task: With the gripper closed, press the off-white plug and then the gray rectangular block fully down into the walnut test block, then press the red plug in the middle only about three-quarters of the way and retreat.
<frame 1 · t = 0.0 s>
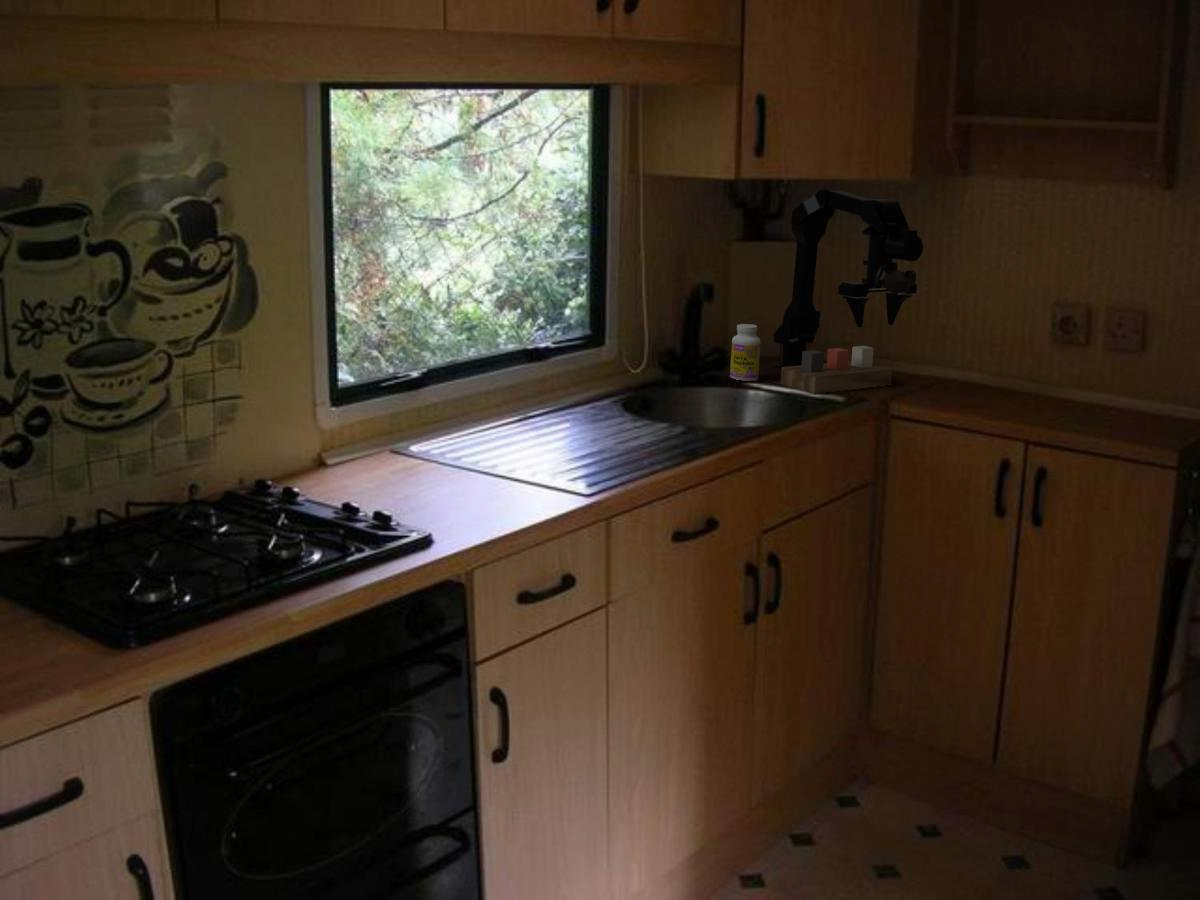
hand: (875, 325, 309), 15 cm above the worktop, tool pointing down, fingers open, 9 cm apart
supplement bottle: (744, 380, 320), on the worktop
gray rectangular block: (812, 362, 311), point 6 cm above the worktop, slide at 0.0 cm
plug white: (862, 357, 319), point 6 cm above the worktop, slide at 0.0 cm
test block: (835, 384, 316), on the worktop
plug red: (837, 360, 315), point 6 cm above the worktop, slide at 0.0 cm
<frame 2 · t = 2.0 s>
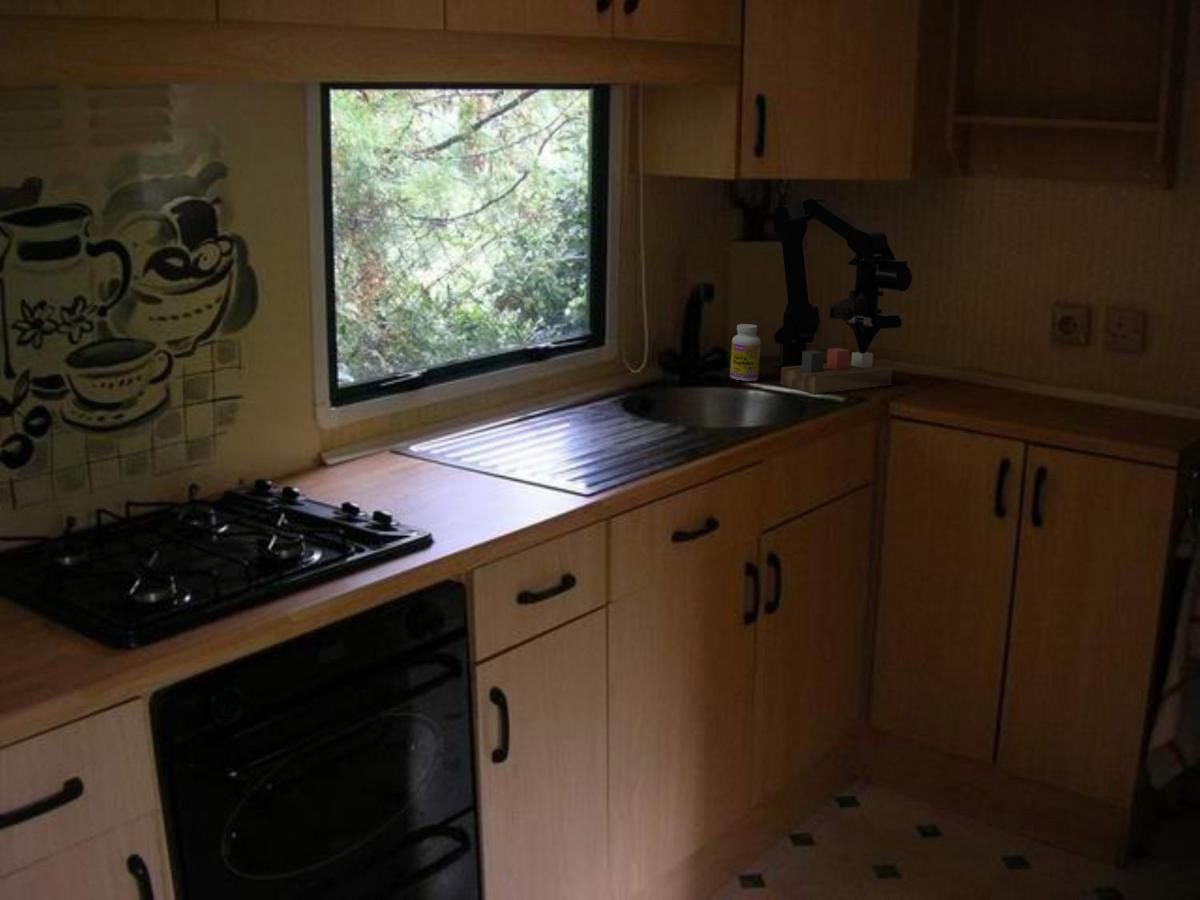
hand: (862, 353, 318), 7 cm above the worktop, tool pointing down, fingers closed, pressing on plug white
plug white: (861, 363, 319), point 4 cm above the worktop, slide at 1.4 cm, touching gripper
everything else where it was.
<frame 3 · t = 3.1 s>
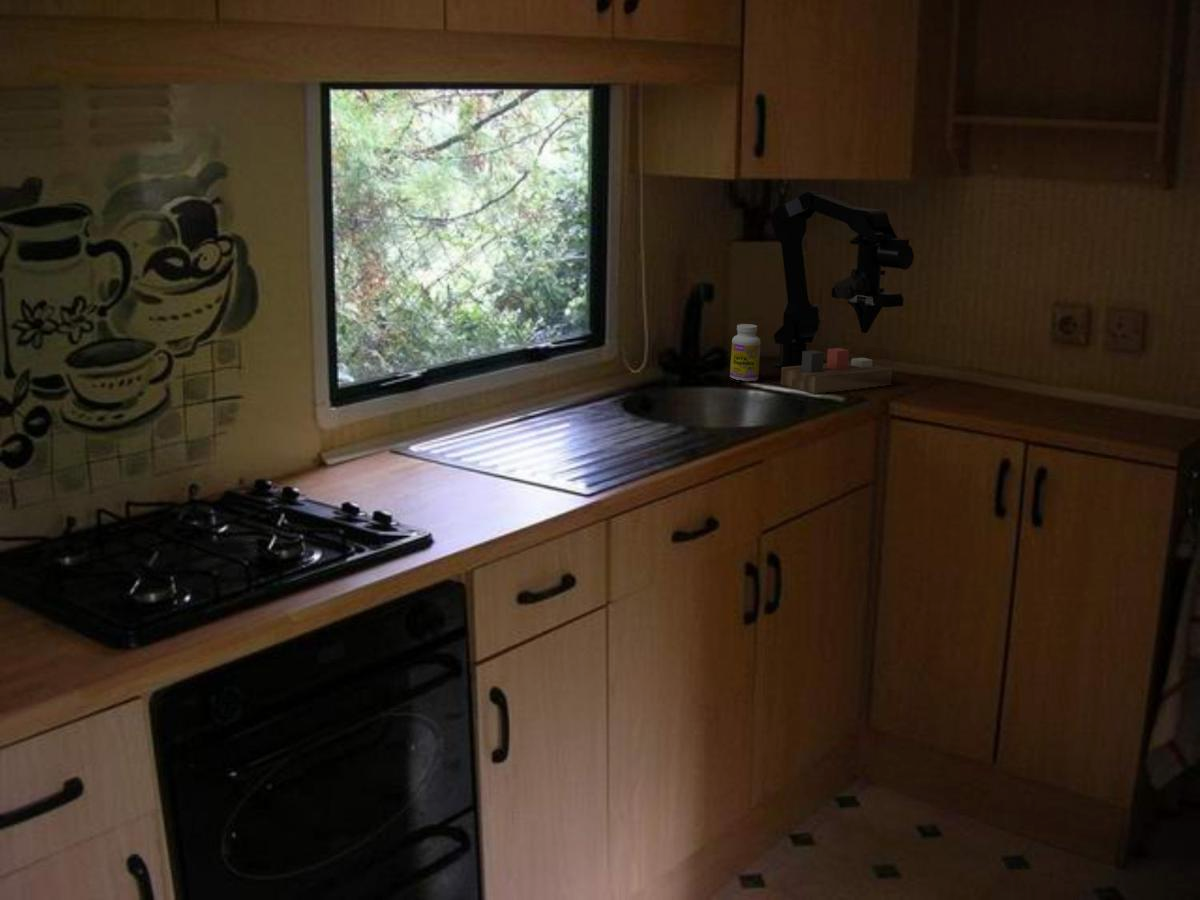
hand: (864, 332, 317), 12 cm above the worktop, tool pointing down, fingers closed
plug white: (861, 369, 319), point 3 cm above the worktop, slide at 2.8 cm
everything else where it was.
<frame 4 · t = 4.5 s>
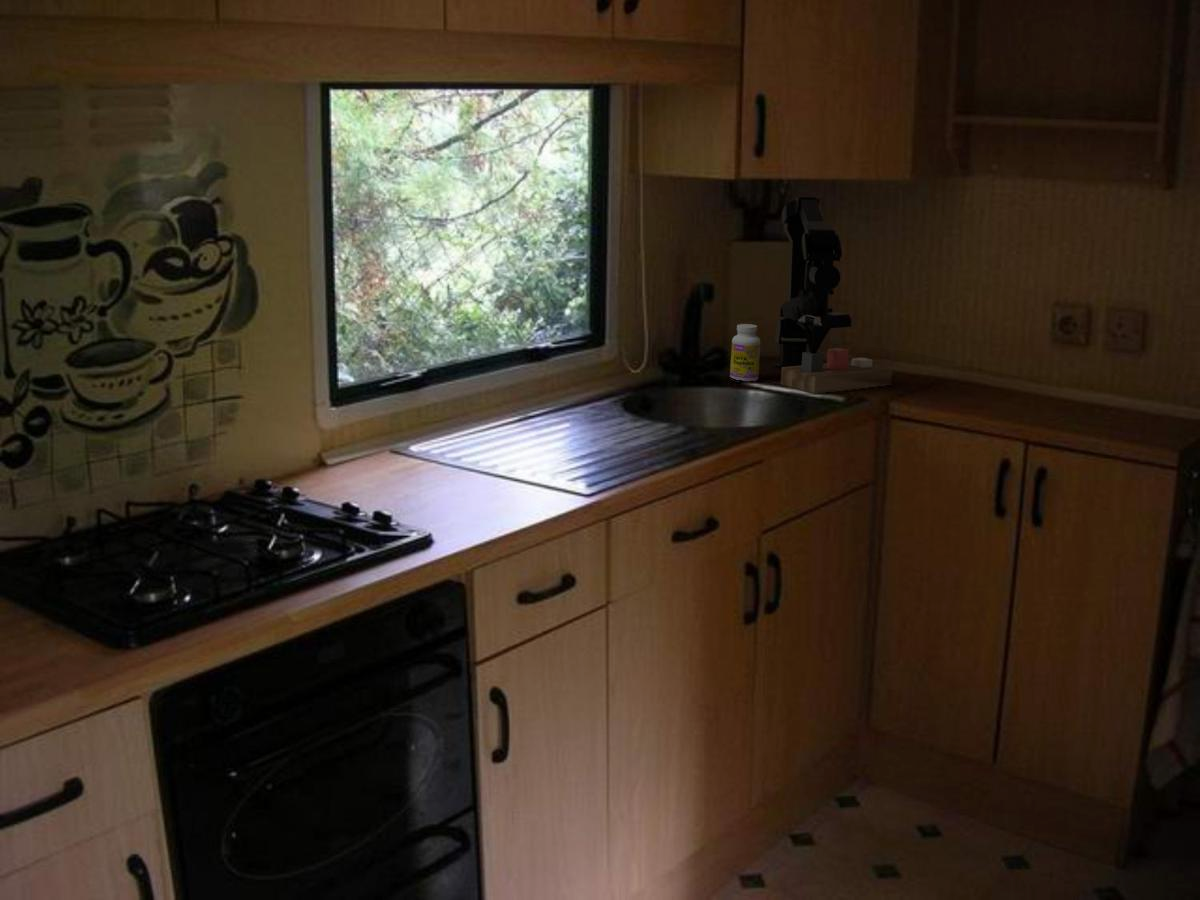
hand: (813, 353, 311), 8 cm above the worktop, tool pointing down, fingers closed, pressing on gray rectangular block
gray rectangular block: (812, 364, 311), point 6 cm above the worktop, slide at 0.3 cm, touching gripper
everything else where it was.
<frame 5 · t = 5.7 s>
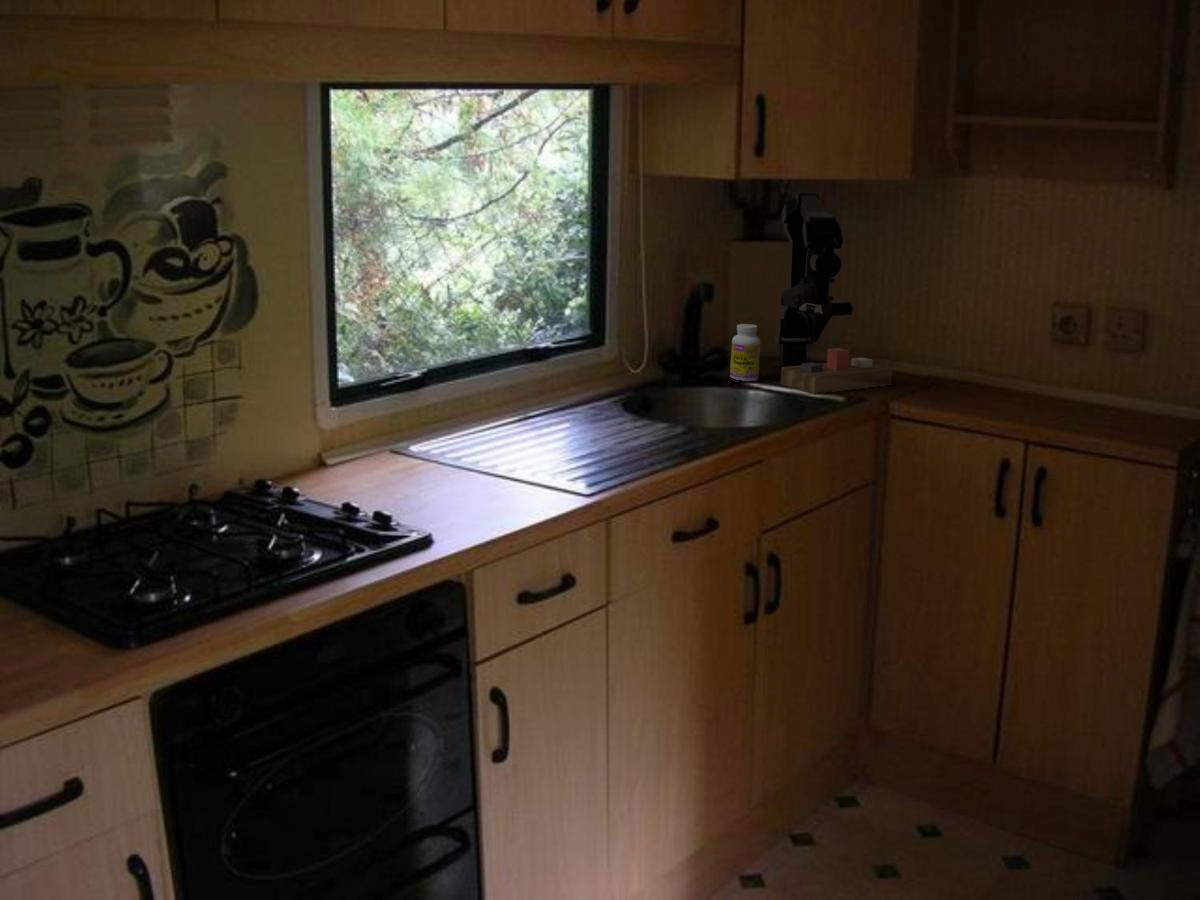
hand: (813, 341, 310), 11 cm above the worktop, tool pointing down, fingers closed
gray rectangular block: (811, 375, 312), point 3 cm above the worktop, slide at 2.8 cm
everything else where it was.
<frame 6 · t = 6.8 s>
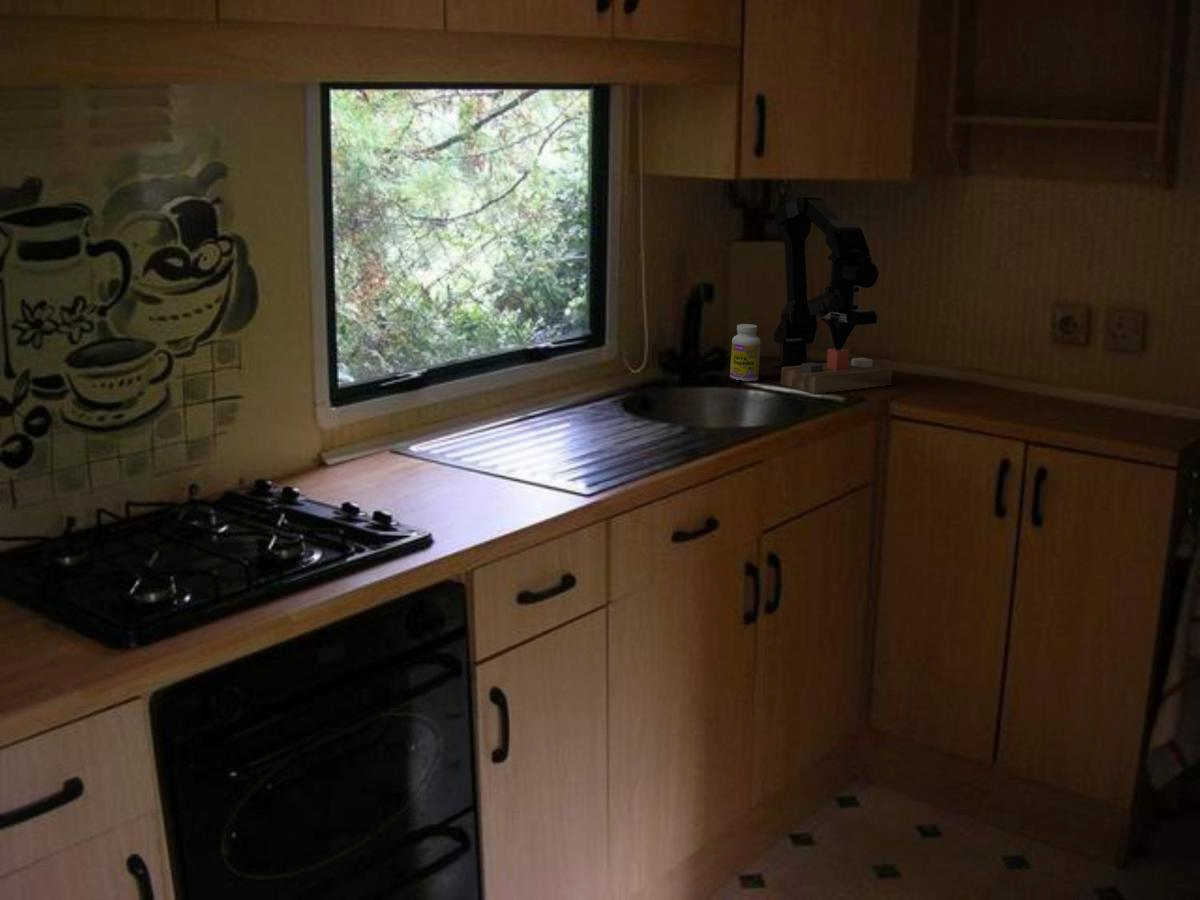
hand: (838, 349, 314), 8 cm above the worktop, tool pointing down, fingers closed, pressing on plug red
plug red: (837, 360, 315), point 6 cm above the worktop, slide at 0.0 cm, touching gripper
everything else where it was.
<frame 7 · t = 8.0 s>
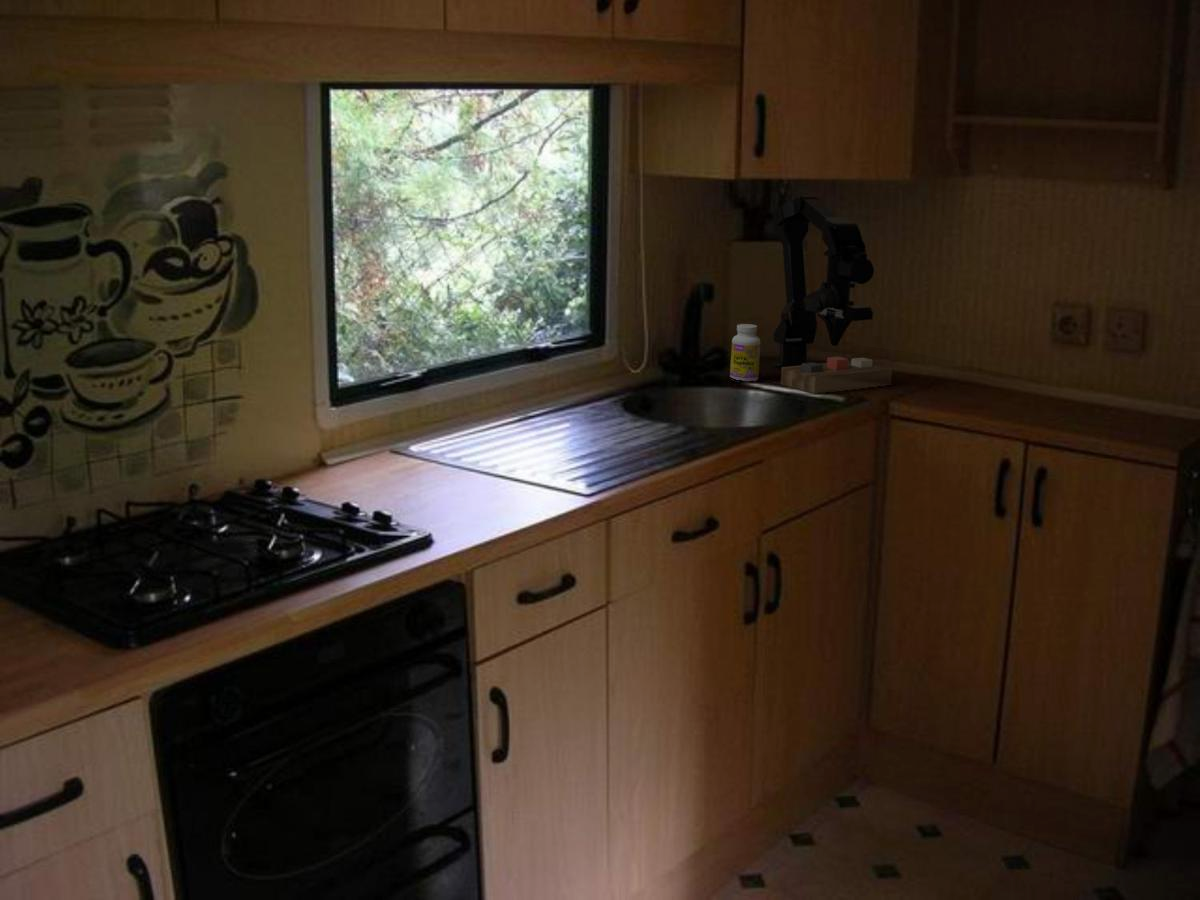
hand: (834, 345, 315), 9 cm above the worktop, tool pointing down, fingers closed
plug red: (837, 369, 315), point 4 cm above the worktop, slide at 2.0 cm
everything else where it was.
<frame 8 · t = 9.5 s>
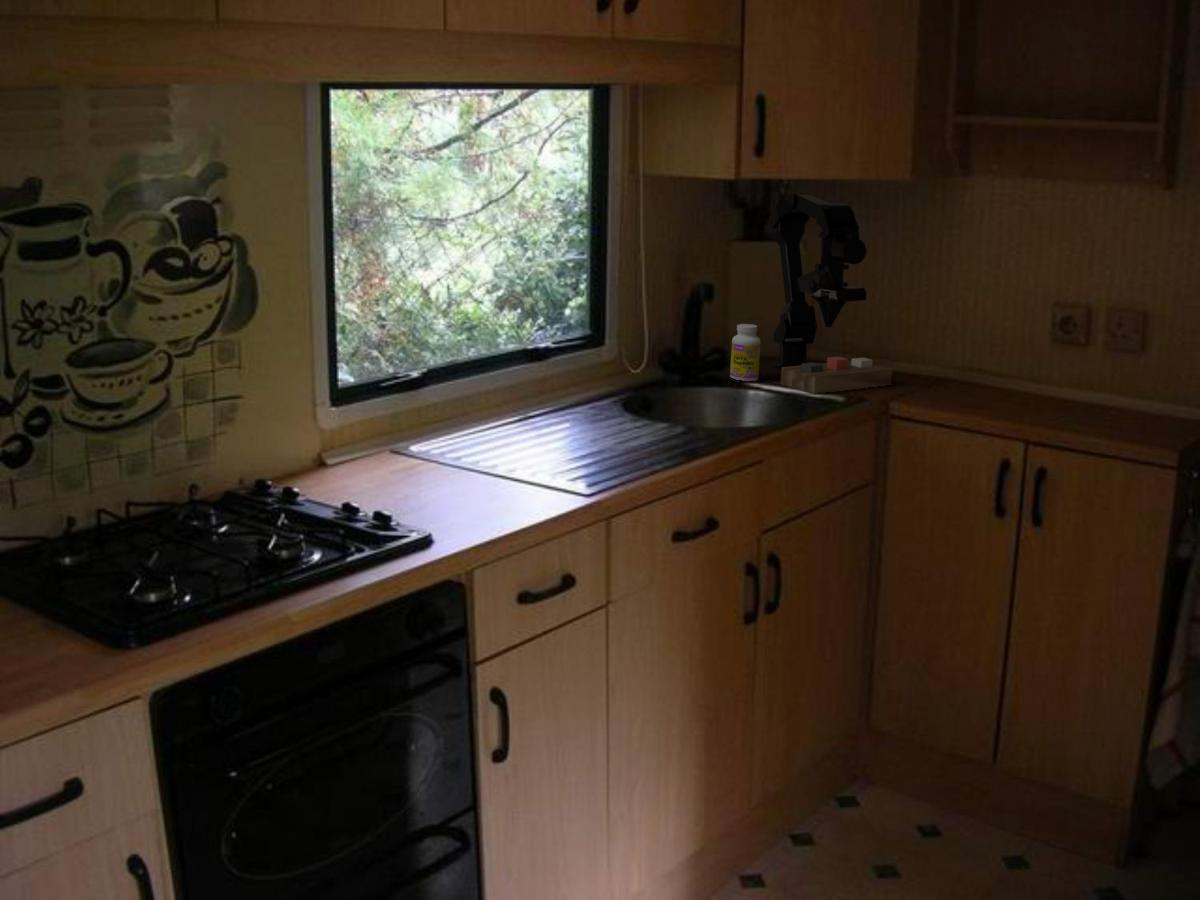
hand: (828, 326, 316), 13 cm above the worktop, tool pointing down, fingers closed
nothing on the worktop moved.
at the end: plug white slide at 2.8 cm; gray rectangular block slide at 2.8 cm; plug red slide at 2.0 cm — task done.
